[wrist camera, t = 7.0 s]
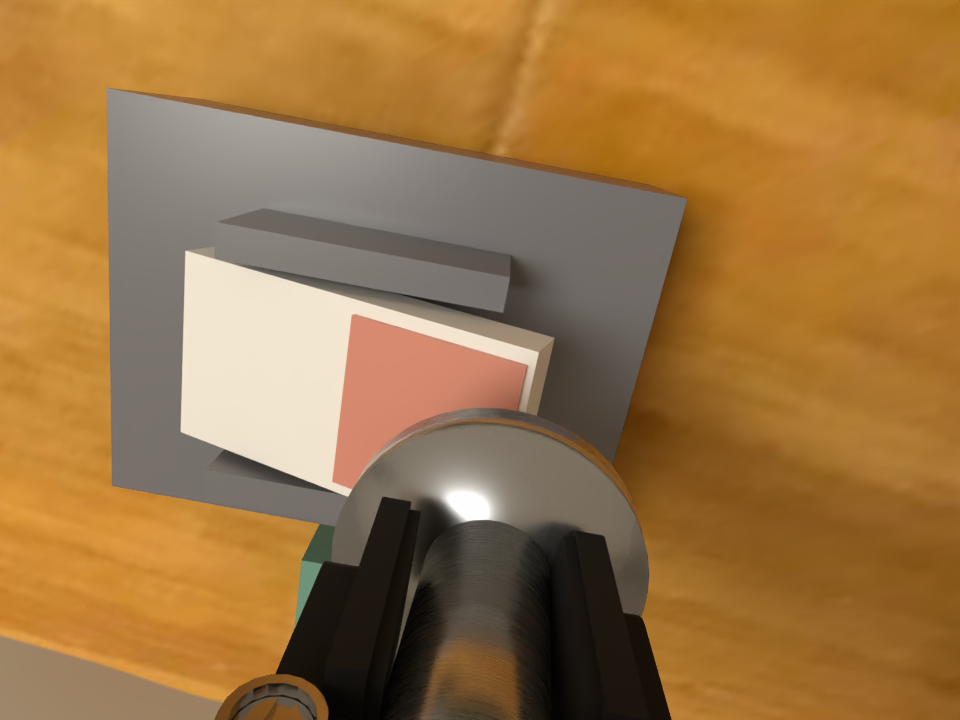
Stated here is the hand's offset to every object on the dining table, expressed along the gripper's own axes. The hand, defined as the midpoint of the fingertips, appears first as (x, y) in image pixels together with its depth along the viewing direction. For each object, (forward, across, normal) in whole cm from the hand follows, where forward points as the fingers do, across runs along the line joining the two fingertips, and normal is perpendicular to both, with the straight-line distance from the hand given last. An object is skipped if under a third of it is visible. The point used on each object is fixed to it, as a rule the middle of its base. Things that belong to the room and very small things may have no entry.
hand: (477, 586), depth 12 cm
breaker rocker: (+8, +4, 0) cm, 9 cm away
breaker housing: (+17, +4, 0) cm, 17 cm away
